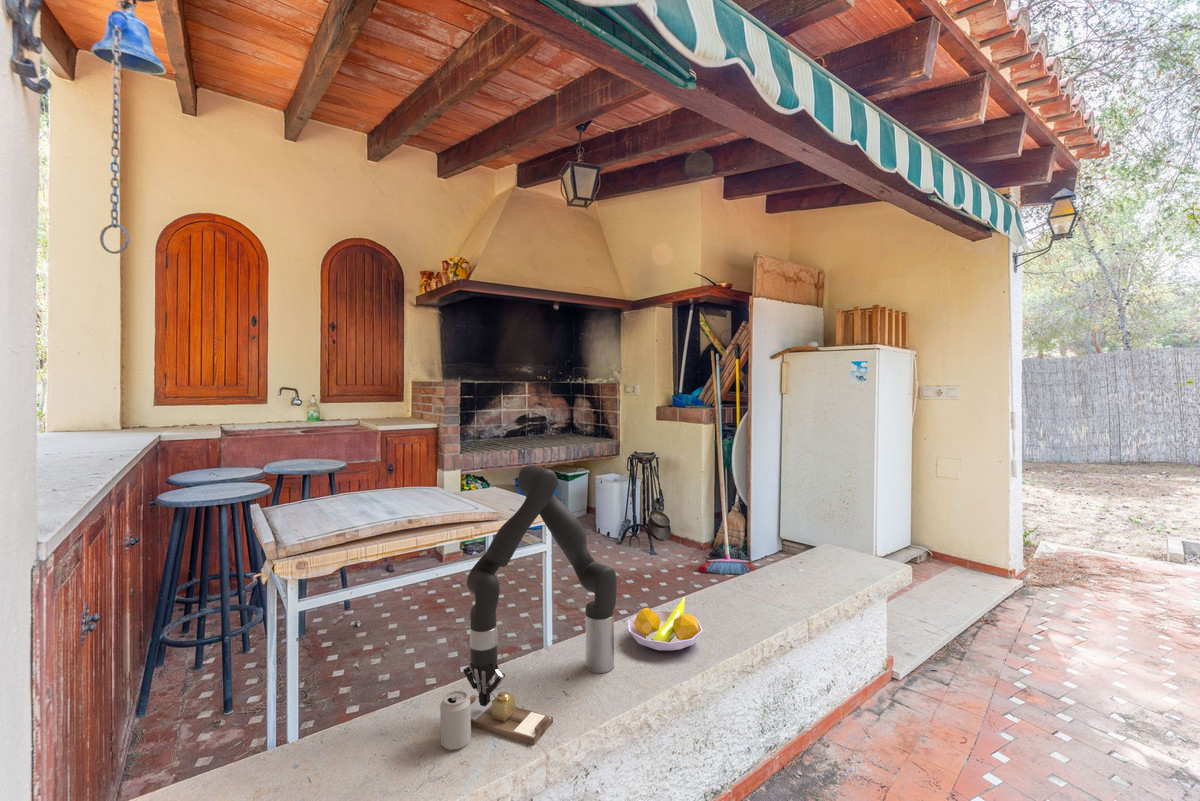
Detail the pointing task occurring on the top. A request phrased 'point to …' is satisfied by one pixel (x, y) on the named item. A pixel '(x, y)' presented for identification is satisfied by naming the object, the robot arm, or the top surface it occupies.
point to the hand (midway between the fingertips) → (484, 704)
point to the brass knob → (503, 706)
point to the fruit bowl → (665, 628)
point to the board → (510, 722)
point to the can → (455, 720)
